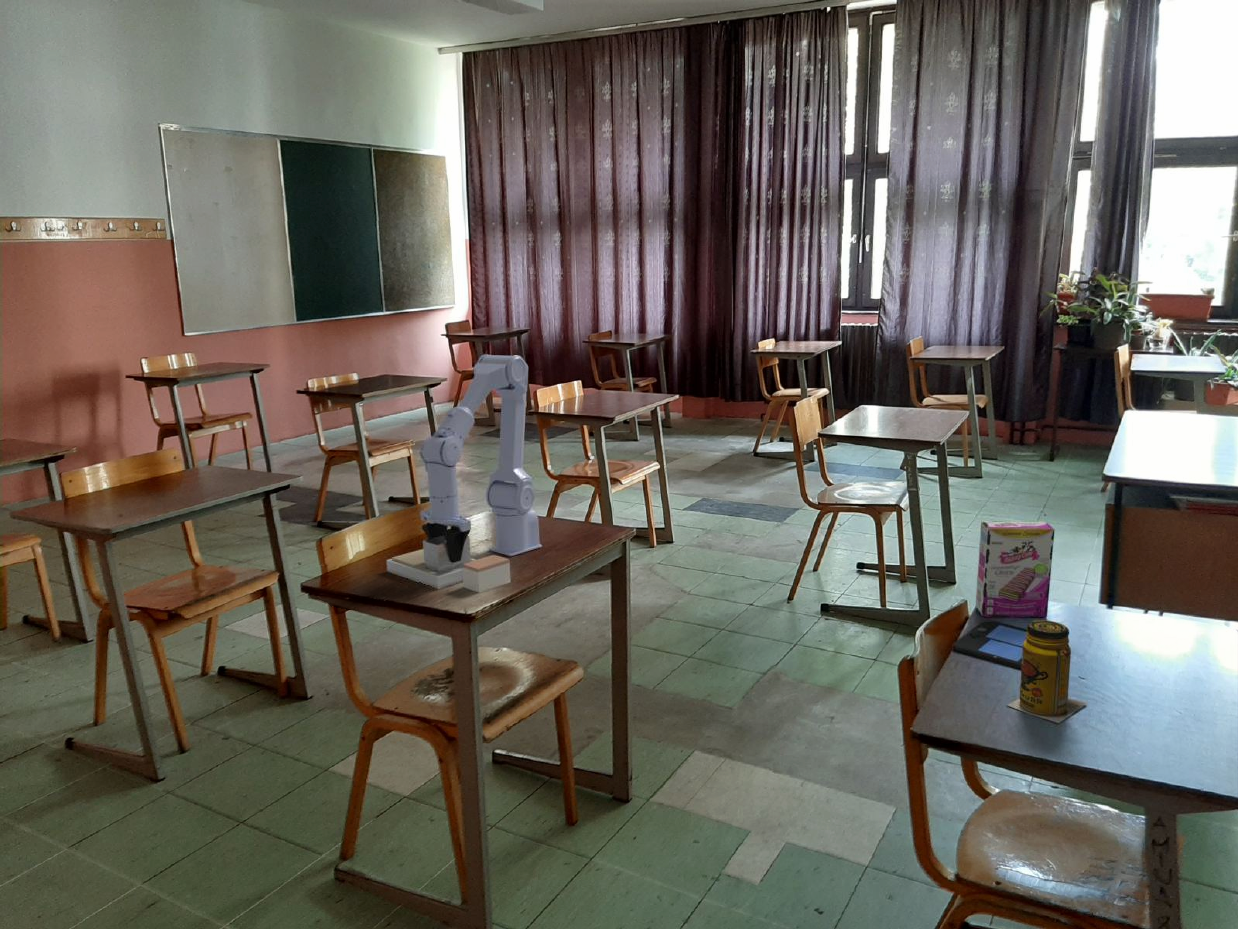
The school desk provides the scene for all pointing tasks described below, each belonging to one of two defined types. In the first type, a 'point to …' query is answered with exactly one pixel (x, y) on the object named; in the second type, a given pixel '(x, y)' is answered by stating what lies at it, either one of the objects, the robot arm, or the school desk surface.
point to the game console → (994, 643)
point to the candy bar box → (1014, 568)
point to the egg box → (486, 573)
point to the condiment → (1046, 673)
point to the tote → (422, 570)
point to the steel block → (443, 555)
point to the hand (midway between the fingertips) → (447, 559)
